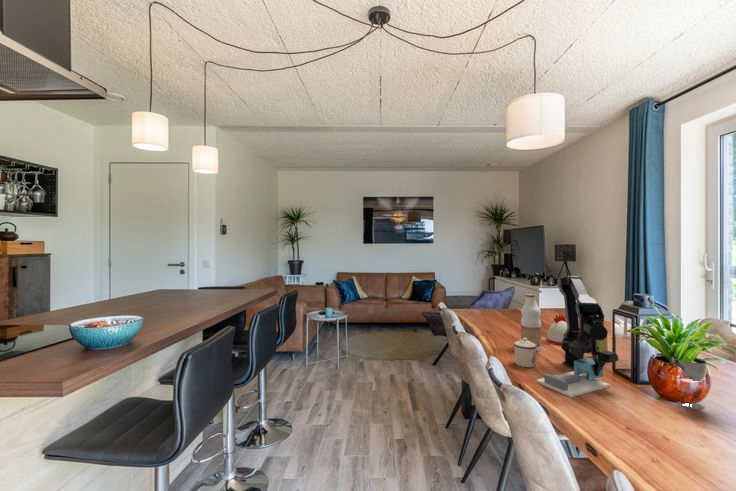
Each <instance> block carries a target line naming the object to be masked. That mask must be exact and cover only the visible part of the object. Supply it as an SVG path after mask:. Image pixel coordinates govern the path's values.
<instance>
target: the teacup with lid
mask: <svg viewBox="0 0 736 491" xmlns="http://www.w3.org/2000/svg"><path fill="white" fill-rule="evenodd" d="M513 346H514V364H515V365H517V366H519V367H523V368H534V367H536V366H537V351H536V345H535V344H534V343H532V342H530V341H528V340H527V338H523V340H521V339H520V340H517V341H515V342H514V343H513Z"/></svg>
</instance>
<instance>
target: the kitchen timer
mask: <svg viewBox="0 0 736 491" xmlns="http://www.w3.org/2000/svg"><path fill="white" fill-rule="evenodd" d="M553 320H554V322H553V323H552V324H551V325H550V327H548V332H547V334H546V341H547V342H548V343H550V344H552V343H553V345H556V344H557V345H558V346H561V342H562V340H563V338H564V333H565V331H566V330H567V320H566V316H564V314H559V315H555V317H553Z"/></svg>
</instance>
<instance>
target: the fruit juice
mask: <svg viewBox="0 0 736 491" xmlns="http://www.w3.org/2000/svg"><path fill="white" fill-rule="evenodd" d="M536 298H537V294H534V293H526V294H525V302H524V304H523V306H522V307H521V310H520V313H521V318H520V340H523V338H527V340H528V341H530V342H532V343H534V344H535V345H536V352H540V351H541V350H542V320H541V315H542V313H541V312H542V310H541V309H540V307H539V305H538V303H537V300H536Z"/></svg>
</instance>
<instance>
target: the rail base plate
mask: <svg viewBox="0 0 736 491" xmlns="http://www.w3.org/2000/svg"><path fill="white" fill-rule="evenodd" d="M543 376H544V377H542V378H537V379H536V383H538V384H540V385H542V386H544V387H546V388H549V389H551V390H554V391H556V392H558V393H560V394H563V395H565V396H567V397H569V398H573V397H578V396H581V395H585V394H589V393H593V392H596V391H600V390H604V389H607V388H610V383H608V382H607V383H606V382H604V381H601V380H598V379H597V378H595V379H591V380H588V379H586V374H581V375H577V374H574V370H573V371H568V372H564V373H560V374H556V375H554V374H550V373H544V374H543Z"/></svg>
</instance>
